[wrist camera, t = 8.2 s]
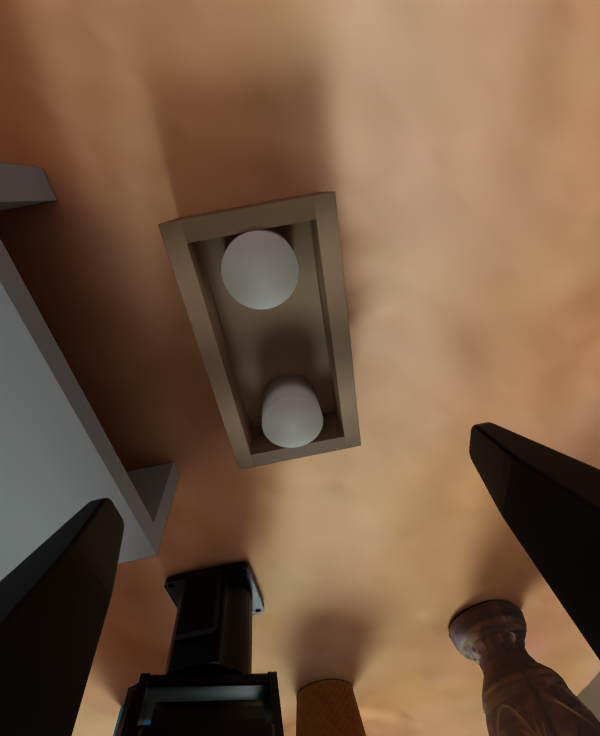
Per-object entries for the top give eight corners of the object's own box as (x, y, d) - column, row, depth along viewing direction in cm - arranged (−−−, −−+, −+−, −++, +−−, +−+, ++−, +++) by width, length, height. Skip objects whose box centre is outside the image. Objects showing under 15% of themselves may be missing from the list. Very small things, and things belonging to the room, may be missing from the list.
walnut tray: (178, 218, 15) (157, 224, 12) (319, 191, 16) (335, 191, 12) (242, 428, 21) (238, 470, 18) (346, 408, 21) (361, 446, 18)
